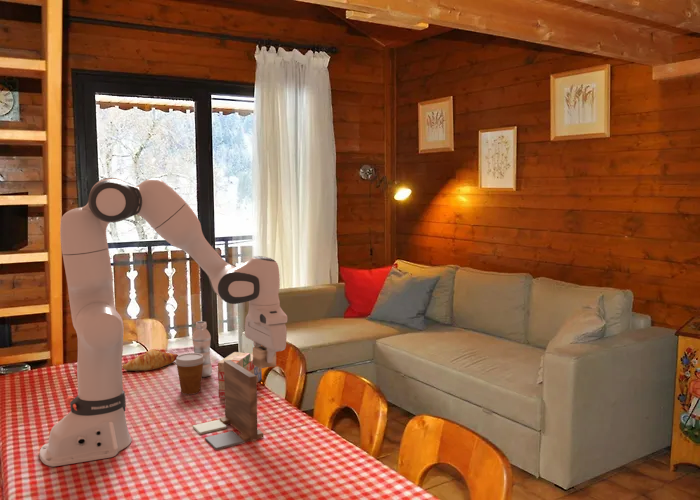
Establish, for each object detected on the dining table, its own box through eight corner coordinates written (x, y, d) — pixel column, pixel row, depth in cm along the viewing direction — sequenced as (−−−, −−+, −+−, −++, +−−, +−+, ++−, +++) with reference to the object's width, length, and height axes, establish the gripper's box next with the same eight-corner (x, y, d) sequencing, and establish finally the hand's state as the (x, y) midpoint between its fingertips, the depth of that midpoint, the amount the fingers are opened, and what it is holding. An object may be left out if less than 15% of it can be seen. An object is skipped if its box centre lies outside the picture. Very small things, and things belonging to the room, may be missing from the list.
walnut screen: (244, 442, 168) (242, 378, 166) (219, 421, 183) (217, 362, 181) (264, 437, 171) (263, 374, 169) (237, 417, 186) (236, 358, 184)
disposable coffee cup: (170, 394, 206) (169, 359, 204) (187, 385, 215) (186, 351, 213) (194, 397, 203) (193, 362, 201) (210, 388, 211) (209, 354, 210)
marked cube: (260, 368, 176) (260, 350, 175) (252, 364, 180) (252, 346, 179) (276, 365, 179) (276, 348, 178) (268, 361, 183) (268, 344, 182)
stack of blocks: (245, 378, 223) (245, 344, 221) (262, 379, 221) (261, 345, 220) (218, 398, 202) (217, 361, 201) (235, 400, 201) (235, 363, 199)
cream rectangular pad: (200, 434, 173) (199, 432, 173) (192, 427, 178) (192, 425, 178) (226, 428, 178) (226, 426, 178) (219, 421, 183) (218, 419, 183)
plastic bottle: (210, 379, 221) (208, 324, 219) (191, 379, 221) (189, 324, 219) (214, 373, 227) (212, 320, 225) (195, 373, 228) (194, 320, 225)
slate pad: (216, 450, 163) (216, 447, 163) (205, 439, 170) (205, 437, 170) (244, 442, 168) (244, 440, 168) (232, 432, 174) (232, 430, 174)
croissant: (126, 382, 228) (128, 366, 224) (117, 364, 234) (119, 348, 231) (181, 370, 241) (184, 355, 237) (171, 353, 247) (174, 338, 243)
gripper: (239, 307, 184) (239, 352, 186) (270, 320, 167) (270, 370, 169) (258, 305, 188) (258, 349, 189) (290, 317, 171) (290, 366, 172)
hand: (264, 359), depth 179 cm, fingers closed on marked cube, 5 cm apart
